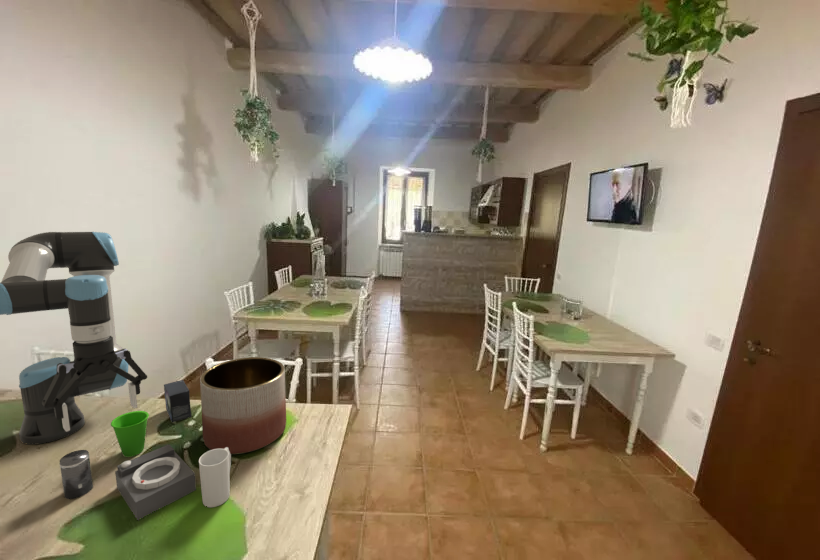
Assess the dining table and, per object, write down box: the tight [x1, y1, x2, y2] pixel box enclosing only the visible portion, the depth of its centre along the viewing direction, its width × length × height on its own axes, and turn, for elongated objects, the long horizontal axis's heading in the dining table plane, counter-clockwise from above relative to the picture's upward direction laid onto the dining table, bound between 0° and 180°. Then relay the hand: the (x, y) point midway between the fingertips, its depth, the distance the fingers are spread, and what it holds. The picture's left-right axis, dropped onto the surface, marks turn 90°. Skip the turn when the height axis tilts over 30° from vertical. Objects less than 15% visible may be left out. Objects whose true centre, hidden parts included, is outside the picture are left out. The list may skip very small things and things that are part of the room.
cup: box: [110, 410, 150, 458], centre depth 109 cm, size 9×9×11 cm
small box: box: [163, 379, 192, 423], centre depth 130 cm, size 11×6×10 cm, turn 43°
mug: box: [198, 447, 232, 508], centre depth 95 cm, size 10×7×12 cm, turn 174°
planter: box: [199, 356, 287, 455], centre depth 120 cm, size 25×25×22 cm
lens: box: [59, 449, 94, 500], centre depth 93 cm, size 6×6×10 cm
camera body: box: [114, 444, 197, 521], centre depth 95 cm, size 16×13×7 cm
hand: (102, 417), depth 93 cm, fingers open, 13 cm apart
